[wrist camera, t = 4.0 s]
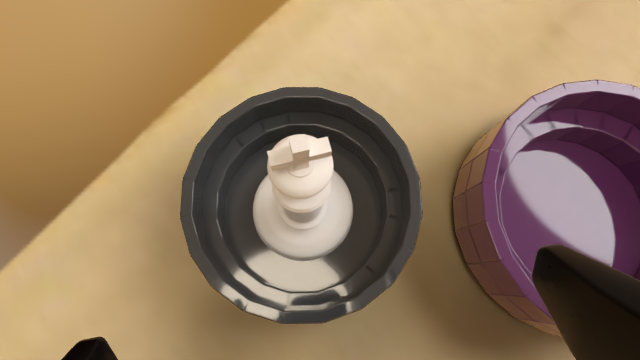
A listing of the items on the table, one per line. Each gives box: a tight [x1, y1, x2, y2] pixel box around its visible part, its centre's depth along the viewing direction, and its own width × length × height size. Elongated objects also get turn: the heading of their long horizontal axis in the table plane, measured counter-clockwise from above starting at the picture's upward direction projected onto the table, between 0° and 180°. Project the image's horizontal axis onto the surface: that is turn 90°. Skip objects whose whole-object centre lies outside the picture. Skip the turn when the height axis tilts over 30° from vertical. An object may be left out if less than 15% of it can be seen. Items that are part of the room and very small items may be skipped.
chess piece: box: [253, 134, 353, 261], centre depth 15 cm, size 5×5×10 cm
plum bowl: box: [453, 80, 640, 336], centre depth 19 cm, size 11×11×4 cm
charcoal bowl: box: [180, 87, 423, 324], centre depth 19 cm, size 10×10×4 cm
